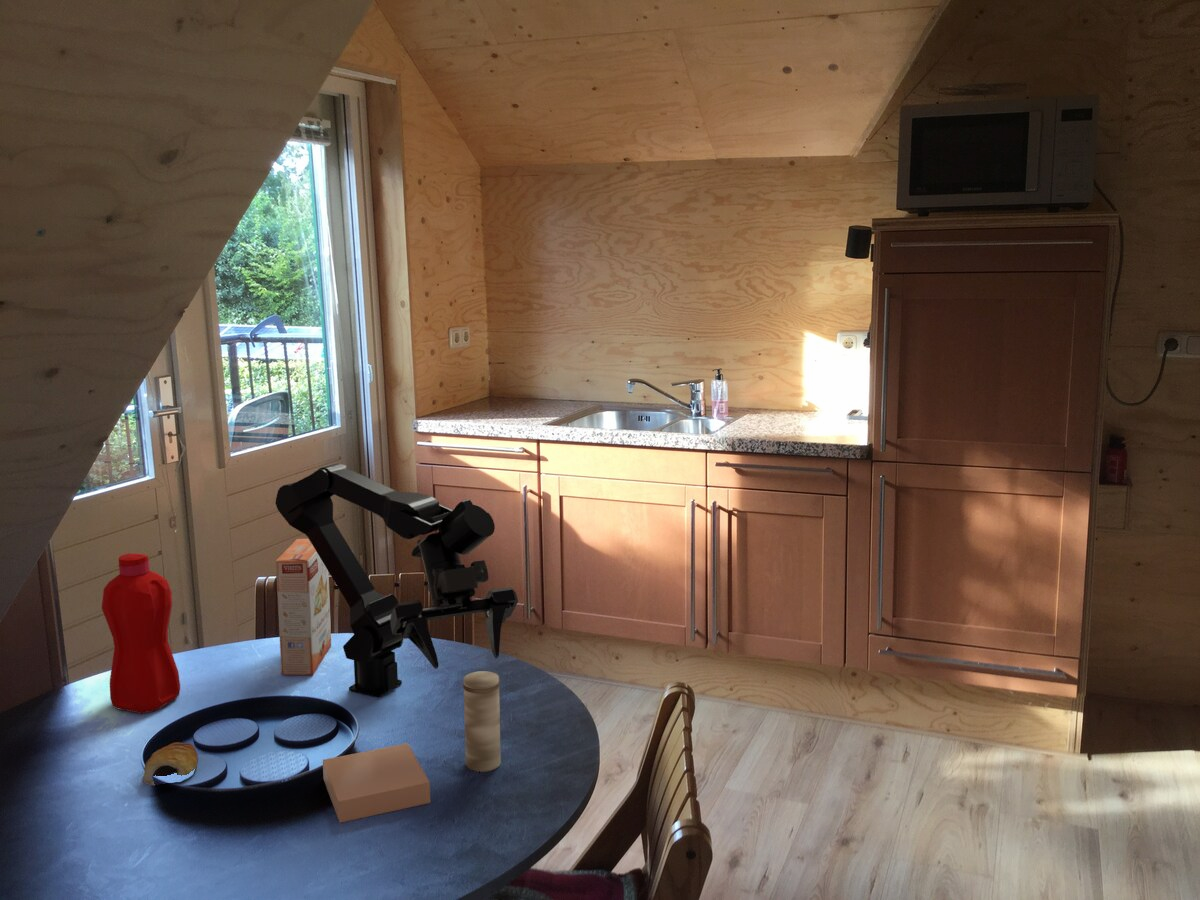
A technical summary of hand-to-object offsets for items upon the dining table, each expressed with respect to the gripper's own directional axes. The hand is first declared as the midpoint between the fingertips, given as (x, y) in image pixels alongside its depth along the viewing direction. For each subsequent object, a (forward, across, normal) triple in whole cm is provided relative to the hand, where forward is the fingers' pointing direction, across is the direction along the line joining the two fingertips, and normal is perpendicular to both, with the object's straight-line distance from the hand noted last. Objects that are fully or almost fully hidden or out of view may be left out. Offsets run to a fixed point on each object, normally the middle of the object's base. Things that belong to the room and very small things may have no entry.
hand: (467, 662), depth 153 cm
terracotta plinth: (+15, -16, +3) cm, 22 cm away
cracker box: (-20, -17, +38) cm, 47 cm away
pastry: (+3, -41, +16) cm, 44 cm away
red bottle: (-16, -43, +34) cm, 57 cm away
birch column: (+14, 0, +4) cm, 15 cm away
